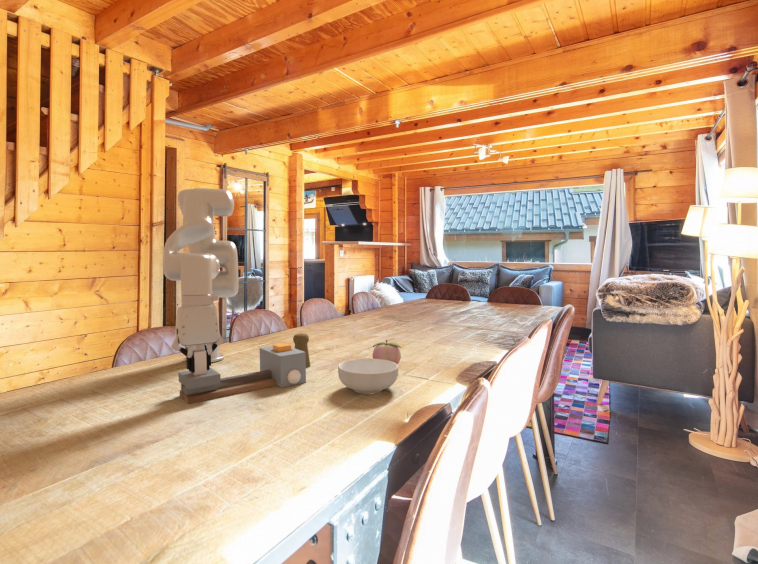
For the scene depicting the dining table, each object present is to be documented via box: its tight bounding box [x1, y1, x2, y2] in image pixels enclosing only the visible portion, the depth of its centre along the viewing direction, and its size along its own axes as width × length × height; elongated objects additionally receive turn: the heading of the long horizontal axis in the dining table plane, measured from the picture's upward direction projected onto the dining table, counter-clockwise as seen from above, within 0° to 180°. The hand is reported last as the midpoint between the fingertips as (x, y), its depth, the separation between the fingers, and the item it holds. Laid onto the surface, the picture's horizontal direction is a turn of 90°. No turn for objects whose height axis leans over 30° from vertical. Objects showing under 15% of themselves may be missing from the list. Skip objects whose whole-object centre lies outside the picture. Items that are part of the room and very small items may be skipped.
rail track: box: [179, 370, 277, 405], centre depth 119 cm, size 8×24×4 cm, turn 130°
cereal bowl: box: [337, 358, 399, 395], centre depth 119 cm, size 17×17×7 cm
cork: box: [292, 332, 311, 369], centre depth 144 cm, size 6×6×11 cm
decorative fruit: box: [372, 339, 402, 365], centre depth 139 cm, size 9×8×10 cm
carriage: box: [178, 349, 222, 395], centre depth 113 cm, size 9×8×10 cm
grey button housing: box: [259, 345, 307, 389], centre depth 129 cm, size 15×8×9 cm, turn 40°
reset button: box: [272, 342, 292, 353], centre depth 129 cm, size 4×4×4 cm
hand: (199, 369), depth 113 cm, fingers closed on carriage, 3 cm apart
